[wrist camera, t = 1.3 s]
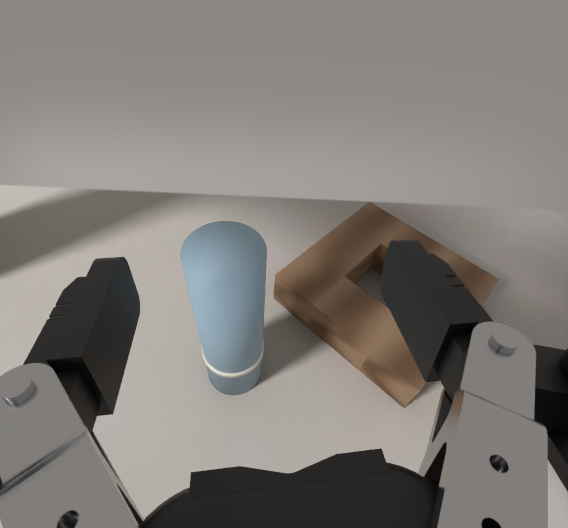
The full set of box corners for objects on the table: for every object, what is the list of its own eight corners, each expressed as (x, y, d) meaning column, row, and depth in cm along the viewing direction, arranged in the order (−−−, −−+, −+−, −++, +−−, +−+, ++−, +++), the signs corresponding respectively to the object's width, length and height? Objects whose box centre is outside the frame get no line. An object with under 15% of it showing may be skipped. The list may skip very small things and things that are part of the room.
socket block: (273, 298, 38) (275, 274, 35) (361, 226, 46) (369, 201, 43) (404, 407, 31) (420, 390, 28) (479, 301, 39) (499, 279, 36)
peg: (195, 368, 32) (160, 248, 20) (237, 333, 35) (228, 208, 22) (232, 408, 30) (218, 302, 18) (274, 368, 33) (286, 252, 20)
